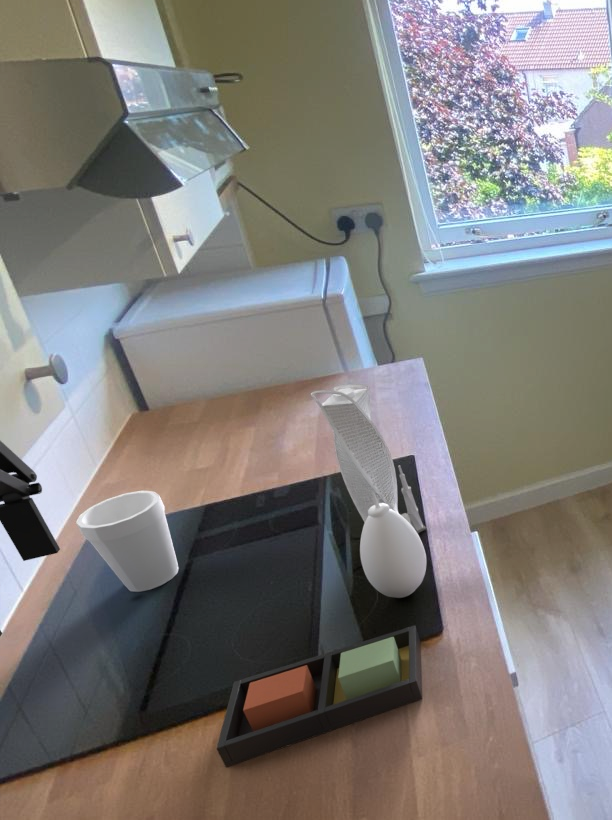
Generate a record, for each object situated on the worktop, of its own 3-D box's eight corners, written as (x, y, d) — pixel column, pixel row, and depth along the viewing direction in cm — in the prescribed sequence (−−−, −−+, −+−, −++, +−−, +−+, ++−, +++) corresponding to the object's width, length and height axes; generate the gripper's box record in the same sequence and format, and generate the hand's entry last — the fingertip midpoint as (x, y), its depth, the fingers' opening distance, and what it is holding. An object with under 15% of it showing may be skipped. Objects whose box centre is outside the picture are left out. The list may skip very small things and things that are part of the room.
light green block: (347, 701, 90) (338, 678, 89) (349, 676, 94) (340, 652, 92) (401, 683, 93) (393, 660, 91) (401, 659, 96) (393, 636, 95)
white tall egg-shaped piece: (363, 606, 107) (326, 503, 99) (403, 571, 114) (371, 473, 106) (407, 615, 105) (373, 511, 97) (445, 579, 112) (416, 480, 104)
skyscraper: (375, 555, 117) (323, 399, 106) (352, 537, 122) (300, 386, 110) (426, 528, 123) (382, 379, 112) (402, 512, 128) (358, 367, 116)
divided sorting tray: (225, 767, 83) (215, 748, 82) (242, 699, 92) (233, 681, 91) (422, 698, 91) (416, 680, 90) (420, 642, 100) (415, 625, 99)
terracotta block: (254, 734, 86) (242, 710, 85) (260, 706, 90) (249, 682, 89) (313, 714, 89) (303, 690, 87) (316, 688, 93) (306, 664, 91)
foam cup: (200, 553, 119) (170, 485, 114) (177, 589, 111) (142, 519, 106) (130, 566, 116) (95, 498, 111) (101, 605, 108) (62, 533, 103)
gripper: (-131, 456, 53) (8, 670, 62) (17, 342, 74) (105, 516, 83) (-283, 483, 50) (-115, 704, 59) (-85, 357, 71) (18, 535, 80)
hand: (14, 595), depth 71 cm, fingers open, 13 cm apart
